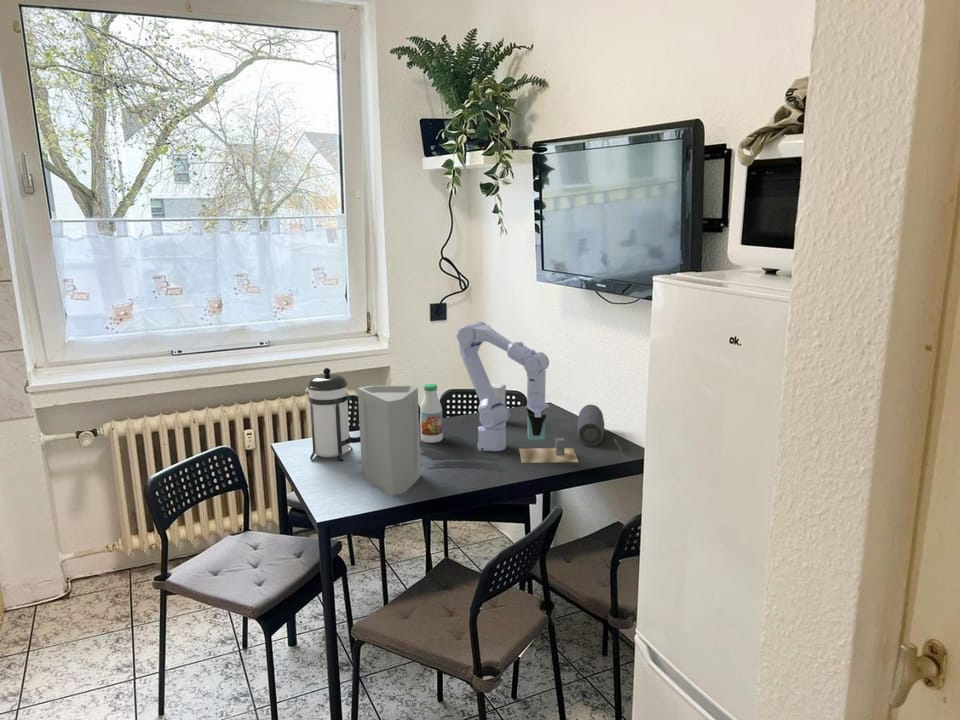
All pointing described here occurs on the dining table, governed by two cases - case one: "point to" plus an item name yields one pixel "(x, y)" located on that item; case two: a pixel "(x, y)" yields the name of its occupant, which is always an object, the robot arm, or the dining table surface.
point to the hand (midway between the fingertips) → (535, 432)
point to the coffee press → (330, 415)
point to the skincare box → (499, 390)
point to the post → (560, 446)
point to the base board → (546, 455)
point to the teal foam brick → (530, 433)
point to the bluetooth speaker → (590, 425)
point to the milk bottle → (431, 415)
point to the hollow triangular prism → (389, 436)
